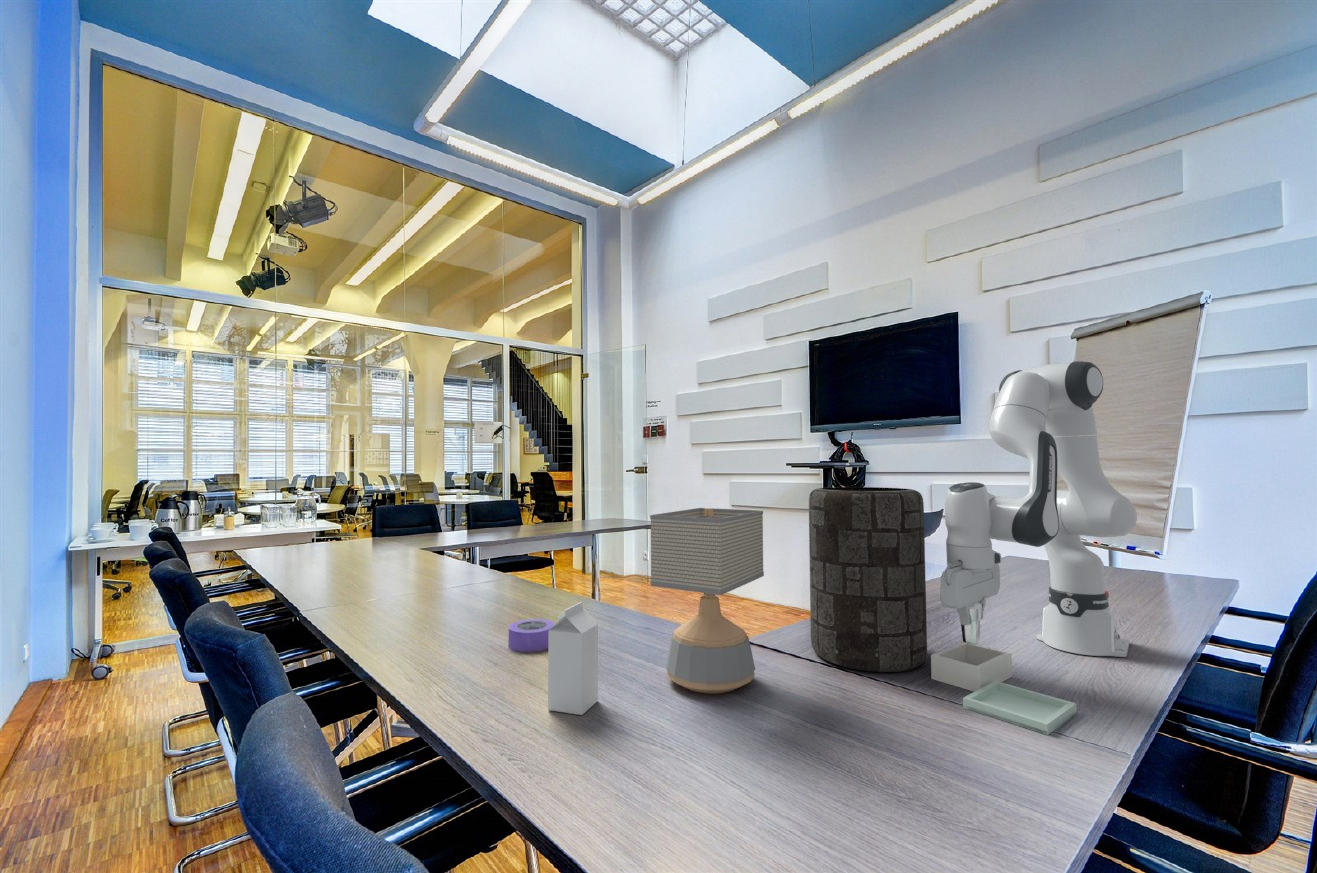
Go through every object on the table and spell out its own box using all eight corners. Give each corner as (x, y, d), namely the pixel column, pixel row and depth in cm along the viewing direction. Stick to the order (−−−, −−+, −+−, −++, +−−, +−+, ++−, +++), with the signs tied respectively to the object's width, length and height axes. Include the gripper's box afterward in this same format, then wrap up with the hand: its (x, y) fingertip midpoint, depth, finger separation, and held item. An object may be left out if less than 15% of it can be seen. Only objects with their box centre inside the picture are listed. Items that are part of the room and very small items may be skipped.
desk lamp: (729, 710, 108) (727, 514, 110) (644, 689, 118) (644, 510, 120) (771, 674, 127) (769, 506, 128) (695, 659, 137) (694, 503, 138)
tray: (995, 689, 118) (995, 680, 118) (1076, 713, 106) (1076, 703, 107) (963, 707, 109) (962, 698, 109) (1047, 735, 98) (1047, 724, 98)
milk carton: (598, 701, 113) (598, 603, 114) (581, 716, 106) (582, 611, 107) (565, 696, 115) (566, 600, 116) (547, 711, 108) (548, 608, 109)
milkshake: (990, 646, 122) (988, 598, 122) (963, 645, 123) (961, 598, 124) (982, 639, 127) (981, 593, 127) (956, 638, 128) (954, 593, 128)
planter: (950, 660, 135) (945, 489, 137) (882, 685, 120) (878, 493, 122) (855, 633, 157) (853, 485, 159) (788, 651, 142) (786, 488, 144)
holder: (964, 663, 133) (964, 641, 133) (1012, 676, 125) (1011, 653, 125) (931, 679, 124) (930, 655, 124) (980, 693, 116) (979, 668, 116)
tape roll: (549, 652, 142) (549, 631, 143) (502, 652, 143) (502, 631, 143) (558, 638, 154) (558, 619, 154) (515, 638, 154) (515, 619, 155)
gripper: (961, 566, 117) (964, 635, 116) (1004, 554, 129) (1007, 616, 128) (930, 562, 122) (933, 628, 121) (975, 550, 134) (977, 610, 134)
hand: (971, 622), depth 125 cm, fingers closed on milkshake, 4 cm apart
